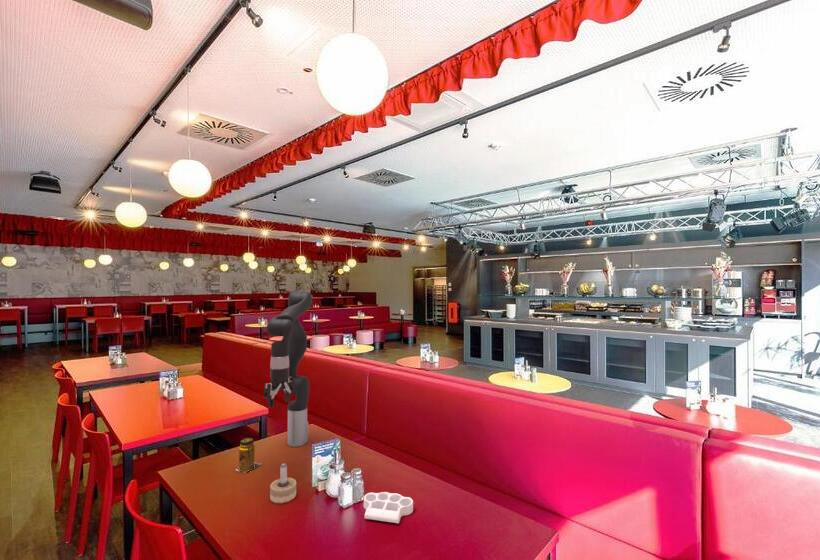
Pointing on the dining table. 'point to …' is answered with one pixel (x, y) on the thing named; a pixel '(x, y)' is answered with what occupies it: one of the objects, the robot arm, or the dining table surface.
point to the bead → (283, 491)
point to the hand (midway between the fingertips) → (279, 404)
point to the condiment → (247, 455)
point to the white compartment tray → (387, 506)
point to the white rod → (283, 475)
